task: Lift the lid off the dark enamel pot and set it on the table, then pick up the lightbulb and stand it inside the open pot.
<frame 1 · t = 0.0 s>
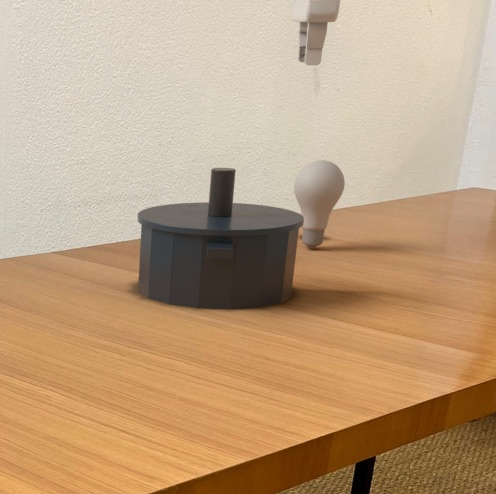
hand: (308, 63, 129), 22 cm above the table, tool pointing down, fingers open, 8 cm apart
pot: (212, 303, 111), on the table
lightbulb: (311, 250, 136), on the table
pot lid: (219, 221, 107), point 8 cm above the table, touching pot
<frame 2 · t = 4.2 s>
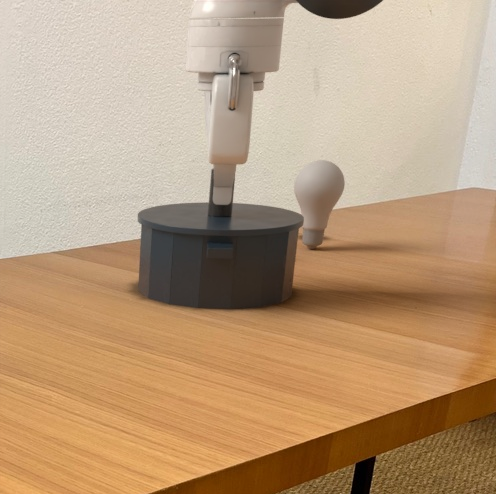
hand: (221, 200, 106), 11 cm above the table, tool pointing down, fingers closed on pot lid, 2 cm apart
pot lid: (219, 221, 107), point 8 cm above the table, touching gripper, pot
everything else where it was.
when the fingers open (2 cm above the table, at t = 11.9 s): pot lid stays where it is, point 1 cm above the table.
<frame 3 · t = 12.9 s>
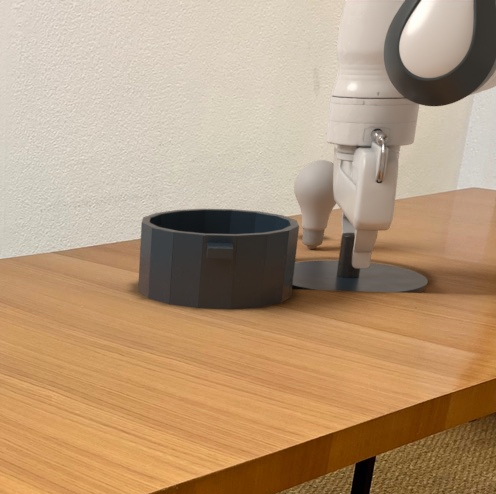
hand: (354, 258, 116), 3 cm above the table, tool pointing down, fingers open, 8 cm apart
pot lid: (347, 281, 117), point 1 cm above the table
everything else where it was.
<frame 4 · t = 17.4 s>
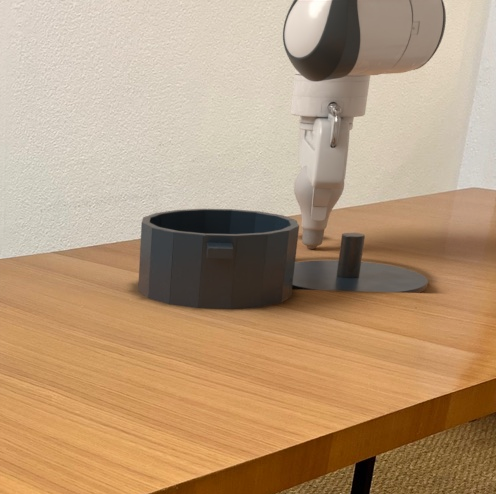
hand: (314, 215, 135), 4 cm above the table, tool pointing down, fingers closed on lightbulb, 5 cm apart
lightbulb: (311, 250, 136), on the table, touching gripper
everything else where it was.
when the fingers open (5 cm above the table, at t = 27.3 s): lightbulb stays where it is, resting on pot.
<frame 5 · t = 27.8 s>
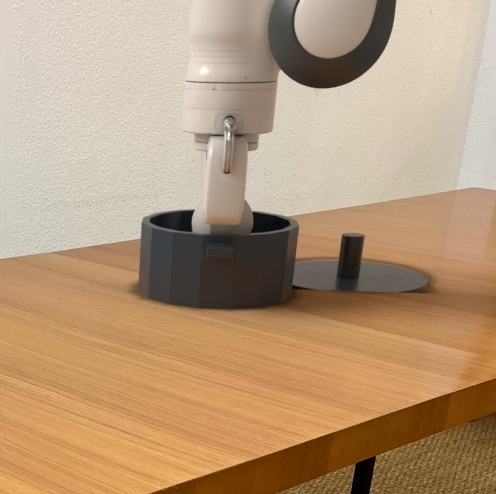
hand: (216, 255, 109), 5 cm above the table, tool pointing down, fingers open, 8 cm apart
lightbulb: (213, 300, 111), resting on pot
everything else where it was.
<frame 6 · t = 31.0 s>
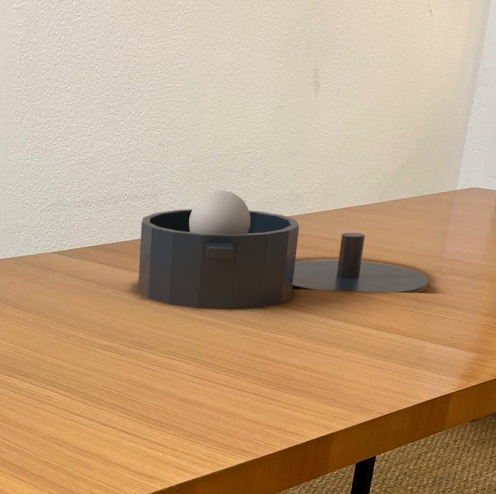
nothing on the table moved.
at the end: pot lid inside the target area (0.3 cm from its centre), point 0.6 cm above the table; lightbulb inside the target area in the pot (0.2 cm from its centre), point 0.3 cm above the pot's base; the gripper is holding nothing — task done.
